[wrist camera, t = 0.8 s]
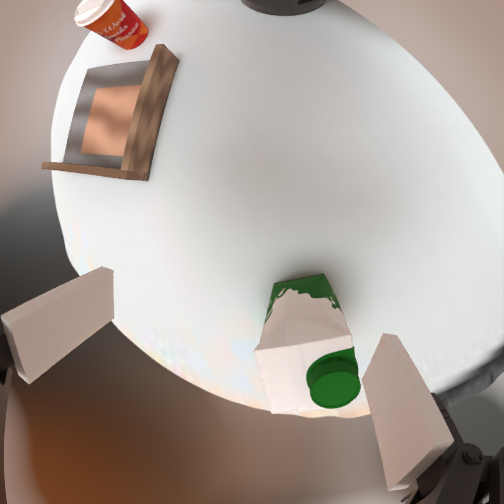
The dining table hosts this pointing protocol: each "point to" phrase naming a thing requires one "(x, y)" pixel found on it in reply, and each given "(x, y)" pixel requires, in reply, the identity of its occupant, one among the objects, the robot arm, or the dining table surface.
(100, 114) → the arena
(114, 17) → the paper cup
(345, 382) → the milk carton
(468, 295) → the dining table surface
